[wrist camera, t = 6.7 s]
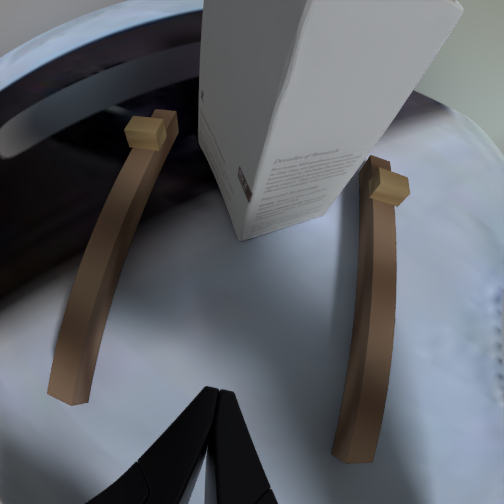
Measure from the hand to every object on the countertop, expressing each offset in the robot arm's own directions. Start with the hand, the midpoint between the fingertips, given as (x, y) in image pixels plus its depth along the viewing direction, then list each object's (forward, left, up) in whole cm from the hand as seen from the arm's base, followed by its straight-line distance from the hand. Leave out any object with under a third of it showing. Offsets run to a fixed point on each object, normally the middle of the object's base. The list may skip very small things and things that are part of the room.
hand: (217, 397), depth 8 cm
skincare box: (+9, -8, -6) cm, 14 cm away
